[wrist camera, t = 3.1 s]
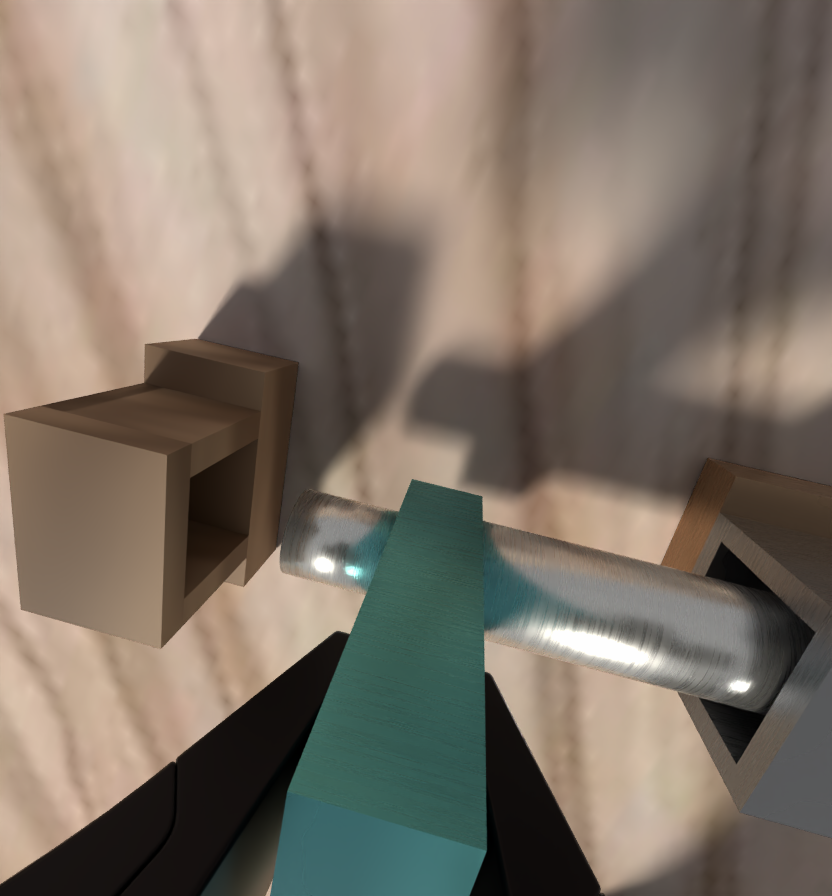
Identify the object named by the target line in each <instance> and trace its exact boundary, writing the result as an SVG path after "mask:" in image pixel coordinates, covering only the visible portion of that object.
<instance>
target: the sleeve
mask: <svg viewBox="0 0 832 896" xmlns="http://www.w3.org/2000/svg"><path fill="white" fill-rule="evenodd" d="M661 565H662V566H666V567H670V568H674V569H678V570H682V571H686V572H690V573H694V574H698V575H702V576H706V577H710V578H714V579H719V580H723V581H727V582H731V583H735V584H739V585H743V586H747V587H751V588H755V589H759V590H763V591H767V592H771V593H775V594H776V595H777V596H778V597H779V598H780V599H781V600H782V601H783V602H785V603H786V604H787V605H788V606H789V607H790V608H791V609H792V610H793V611H794V612H795V613H796V614H797V615H798V616H799V617H800V618H801V619H802V620H803V621H804V622H805V623H806V624H807V625H808V626H809V627H810V628H811V629H813V630H814V631H815V632H816V633H815V635H814V637H813V638H812V640H811V642H810V643H809V645H808V647H807V648H806V650H805V652H804V653H803V655H802V657H801V658H800V660H799V662H798V663H797V665H796V667H795V668H794V670H793V672H792V673H791V675H790V677H789V678H788V680H787V682H786V683H785V685H784V687H783V688H782V690H781V691H780V693H779V695H778V696H777V698H776V700H775V701H774V703H773V705H772V706H771V708H770V710H769V711H768V713H767V715H763V714H759V713H756V712H752V711H748V710H744V709H741V708H737V707H733V706H729V705H726V704H722V703H718V702H714V701H711V700H707V699H703V698H700V697H696V696H692V695H688V694H685V693H681V692H678V694H679V696H680V698H681V699H682V701H683V703H684V705H685V707H686V709H687V711H688V713H689V715H690V717H691V719H692V721H693V723H694V725H695V727H696V729H697V731H698V732H699V734H700V736H701V738H702V740H703V742H704V744H705V746H706V748H707V750H708V752H709V754H710V756H711V758H712V760H713V762H714V763H715V765H716V767H717V769H718V771H719V773H720V775H721V777H722V779H723V781H724V783H725V785H726V787H727V789H728V791H729V793H730V794H731V796H732V798H733V800H734V802H735V804H736V806H737V808H738V810H739V812H740V813H744V814H748V815H751V816H755V817H758V818H762V819H765V820H769V821H772V822H776V823H780V824H783V825H787V826H790V827H794V828H797V829H801V830H804V831H808V832H811V833H815V834H819V835H822V836H826V837H829V838H832V487H831V486H827V485H823V484H819V483H814V482H810V481H806V480H801V479H797V478H793V477H788V476H784V475H780V474H776V473H771V472H767V471H763V470H758V469H754V468H750V467H745V466H741V465H737V464H733V463H728V462H724V461H720V460H715V459H711V458H708V459H707V461H706V463H705V466H704V468H703V470H702V472H701V475H700V477H699V479H698V481H697V484H696V486H695V488H694V491H693V493H692V495H691V497H690V500H689V502H688V504H687V506H686V509H685V511H684V513H683V516H682V518H681V520H680V522H679V525H678V527H677V529H676V531H675V534H674V536H673V538H672V540H671V543H670V545H669V547H668V550H667V552H666V554H665V556H664V559H663V561H662V563H661Z"/></svg>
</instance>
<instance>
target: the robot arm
mask: <svg viewBox="0 0 832 896" xmlns="http://www.w3.org/2000/svg"><path fill="white" fill-rule="evenodd" d="M349 636H350V634H348V633H344V632H341V631H336V632H334V633H333V634H332V635H330V636H329V637H328V638H327V639H325V640H324V641H323V642H322V643H320V644H319V645H318V646H317V647H315V648H314V649H313V650H312V651H310V652H309V653H308V654H307V655H305V656H304V657H303V658H301V659H300V660H299V661H298V662H296V663H295V664H294V665H293V666H291V667H290V668H289V669H288V670H286V671H285V672H284V673H283V674H281V675H280V676H279V677H278V678H276V679H275V680H274V681H273V682H271V683H270V684H269V685H268V686H266V687H265V688H264V689H263V690H261V691H260V692H259V693H258V694H256V695H255V696H254V697H253V698H251V699H250V700H249V701H248V702H246V703H245V704H244V705H242V706H241V707H240V708H239V709H237V710H236V711H235V712H234V713H232V714H231V715H230V716H229V717H227V718H226V719H225V720H224V721H222V722H221V723H220V724H219V725H217V726H216V727H215V728H214V729H212V730H211V731H210V732H209V733H207V734H206V735H205V736H204V737H202V738H201V739H200V740H199V741H197V742H196V743H195V744H194V745H192V746H191V747H190V748H188V749H187V750H186V751H185V752H183V753H182V754H181V755H180V756H178V757H177V759H176V763H175V762H170V763H169V764H168V765H167V766H165V767H164V768H163V769H162V770H160V771H159V772H158V773H157V774H156V775H154V776H153V777H152V778H151V779H149V780H148V781H147V782H145V783H144V784H143V785H142V786H140V787H139V788H138V789H136V790H135V791H134V792H132V793H131V794H130V795H128V796H127V797H126V798H124V799H123V800H122V801H120V802H119V803H118V804H116V805H115V806H114V807H113V808H111V809H110V810H109V811H107V812H106V813H104V814H103V815H101V816H100V817H99V818H97V819H96V820H94V821H93V822H91V823H90V824H89V825H87V826H86V827H84V828H83V829H81V830H80V831H78V832H77V833H76V834H74V835H73V836H71V837H70V838H68V839H67V840H65V841H64V842H63V843H61V844H60V845H58V846H57V847H55V848H54V849H52V850H51V851H49V852H48V853H46V854H45V855H43V856H42V857H40V858H39V859H37V860H36V861H34V862H33V863H31V864H30V865H28V866H27V867H25V868H24V869H22V870H21V871H19V872H18V873H16V874H15V875H13V876H12V877H10V878H9V879H7V880H6V881H4V882H3V883H1V884H0V896H265V895H266V893H267V891H268V889H269V886H270V884H271V882H272V879H273V875H274V869H275V863H276V857H277V851H278V845H279V839H280V833H281V827H282V821H283V815H284V808H285V802H286V796H287V791H288V788H289V786H290V783H291V781H292V778H293V776H294V773H295V771H296V768H297V766H298V763H299V761H300V758H301V756H302V753H303V751H304V748H305V746H306V743H307V741H308V738H309V736H310V733H311V731H312V728H313V726H314V723H315V721H316V718H317V716H318V713H319V711H320V708H321V706H322V703H323V701H324V698H325V696H326V693H327V691H328V688H329V686H330V683H331V681H332V678H333V676H334V673H335V671H336V668H337V666H338V663H339V661H340V658H341V656H342V653H343V651H344V648H345V646H346V643H347V641H348V638H349ZM485 748H486V827H487V852H486V854H485V857H484V859H483V862H482V865H481V867H480V870H479V872H478V875H477V877H476V880H475V883H474V885H473V888H472V890H471V893H470V895H469V896H605V895H604V894H603V893H600V890H601V888H600V885H599V883H598V881H597V879H596V877H595V875H594V873H593V871H592V869H591V867H590V865H589V864H588V862H587V860H586V858H585V856H584V854H583V852H582V850H581V848H580V846H579V844H578V842H577V840H576V838H575V836H574V834H573V832H572V830H571V828H570V826H569V825H568V823H567V821H566V819H565V817H564V815H563V813H562V811H561V809H560V807H559V805H558V803H557V801H556V799H555V797H554V795H553V793H552V791H551V789H550V788H549V786H548V784H547V782H546V780H545V778H544V776H543V774H542V772H541V770H540V768H539V766H538V764H537V762H536V760H535V758H534V756H533V754H532V752H531V751H530V749H529V747H528V745H527V743H526V741H525V739H524V737H523V735H522V733H521V731H520V729H519V727H518V725H517V723H516V721H515V719H514V717H513V715H512V714H511V712H510V710H509V708H508V706H507V704H506V702H505V700H504V698H503V696H502V694H501V692H500V690H499V688H498V686H497V684H496V682H495V680H494V678H493V677H492V675H491V674H490V673H488V672H485ZM599 893H600V894H599Z"/></svg>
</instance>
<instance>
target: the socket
mask: <svg viewBox="0 0 832 896" xmlns="http://www.w3.org/2000/svg"><path fill="white" fill-rule="evenodd" d="M298 364H299V363H298V362H294V361H290V360H285V359H281V358H277V357H273V356H268V355H264V354H260V353H255V352H251V351H247V350H242V349H238V348H234V347H230V346H225V345H221V344H217V343H212V342H208V341H204V340H199V339H190V340H181V341H171V342H162V343H152V344H145V371H144V383H142V384H138V385H133V386H128V387H124V388H119V389H115V390H110V391H106V392H101V393H97V394H92V395H88V396H83V397H79V398H74V399H70V400H65V401H60V402H56V403H51V404H47V405H42V406H38V407H33V408H29V409H24V410H20V411H15V412H11V413H6V414H4V424H5V435H6V446H7V458H8V469H9V480H10V492H11V503H12V514H13V525H14V537H15V548H16V559H17V571H18V582H19V593H20V604H21V610H24V611H28V612H31V613H35V614H38V615H42V616H45V617H49V618H53V619H56V620H60V621H63V622H67V623H70V624H74V625H77V626H81V627H84V628H88V629H92V630H95V631H99V632H102V633H106V634H109V635H113V636H116V637H120V638H123V639H127V640H131V641H134V642H138V643H141V644H145V645H148V646H152V647H155V648H159V649H161V648H162V647H163V646H164V645H165V644H166V643H167V642H168V641H169V640H170V639H171V638H172V637H173V636H174V635H175V633H176V632H177V631H178V630H179V629H180V628H181V627H182V626H183V625H184V624H185V623H186V622H187V621H188V620H189V619H190V617H191V616H192V615H193V614H194V613H195V612H196V611H197V610H198V609H199V608H200V607H201V606H202V605H203V604H204V603H205V601H206V600H207V599H208V598H209V597H210V596H211V595H212V594H213V593H214V592H215V591H216V590H217V589H218V588H219V587H220V585H221V584H222V583H223V582H227V583H231V584H234V585H238V586H242V587H244V586H245V585H246V584H247V582H248V581H249V580H250V579H251V578H252V577H253V575H254V574H255V573H256V572H257V571H258V570H259V568H260V567H261V566H262V565H263V564H264V562H265V561H266V560H267V559H268V558H269V557H270V555H271V554H272V553H273V552H274V551H275V550H276V543H277V535H278V527H279V519H280V511H281V502H282V494H283V486H284V478H285V470H286V462H287V454H288V445H289V437H290V429H291V421H292V413H293V405H294V396H295V388H296V380H297V372H298Z"/></svg>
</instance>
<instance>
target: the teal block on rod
mask: <svg viewBox="0 0 832 896" xmlns="http://www.w3.org/2000/svg"><path fill="white" fill-rule="evenodd" d="M280 569H281V571H282V573H285V574H289V575H292V576H296V577H300V578H304V579H307V580H311V581H315V582H319V583H322V584H326V585H330V586H334V587H338V588H341V589H345V590H349V591H353V592H356V593H360V594H364V595H366V596H365V598H364V601H363V603H362V606H361V608H360V611H359V613H358V616H357V618H356V621H355V623H354V626H353V628H352V631H351V633H350V636H349V638H348V641H347V643H346V646H345V648H344V651H343V653H342V656H341V658H340V661H339V663H338V666H337V668H336V671H335V673H334V676H333V678H332V681H331V683H330V686H329V688H328V691H327V693H326V696H325V698H324V701H323V703H322V706H321V708H320V711H319V713H318V716H317V718H316V721H315V723H314V726H313V728H312V731H311V733H310V736H309V738H308V741H307V743H306V746H305V748H304V751H303V753H302V756H301V758H300V761H299V763H298V766H297V768H296V771H295V773H294V776H293V778H292V781H291V783H290V786H289V788H288V791H287V796H286V802H285V808H284V815H283V821H282V827H281V833H280V839H279V845H278V851H277V857H276V863H275V869H274V875H273V882H272V888H271V894H270V896H469V895H470V893H471V890H472V888H473V885H474V883H475V880H476V877H477V875H478V872H479V870H480V867H481V865H482V862H483V859H484V857H485V854H486V852H487V827H486V748H485V668H484V640H486V641H490V642H494V643H497V644H501V645H505V646H509V647H512V648H516V649H520V650H524V651H527V652H531V653H535V654H539V655H542V656H546V657H550V658H554V659H557V660H561V661H565V662H569V663H572V664H576V665H580V666H583V667H587V668H591V669H595V670H598V671H602V672H606V673H610V674H613V675H617V676H621V677H625V678H628V679H632V680H636V681H640V682H643V683H647V684H651V685H655V686H658V687H662V688H666V689H670V690H673V691H677V692H681V693H685V694H688V695H692V696H696V697H700V698H703V699H707V700H711V701H714V702H718V703H722V704H726V705H729V706H733V707H737V708H741V709H744V710H748V711H752V712H756V713H759V714H763V715H767V713H768V711H769V710H770V708H771V706H772V705H773V703H774V701H775V700H776V698H777V696H778V695H779V693H780V691H781V690H782V688H783V687H784V685H785V683H786V682H787V680H788V678H789V677H790V675H791V673H792V672H793V670H794V668H795V667H796V665H797V663H798V662H799V660H800V658H801V657H802V655H803V653H804V652H805V650H806V648H807V647H808V645H809V643H810V642H811V640H812V638H813V637H814V635H815V633H816V632H815V631H814V630H813V629H811V628H810V627H809V626H808V625H807V624H806V623H805V622H804V621H803V620H802V619H801V618H800V617H799V616H798V615H797V614H796V613H795V612H794V611H793V610H792V609H791V608H790V607H789V606H788V605H787V604H786V603H785V602H783V601H782V600H781V599H780V598H779V597H778V596H777V595H776V594H775V593H771V592H767V591H763V590H759V589H755V588H751V587H747V586H743V585H739V584H735V583H731V582H727V581H723V580H719V579H714V578H710V577H706V576H702V575H698V574H694V573H690V572H686V571H682V570H678V569H674V568H670V567H666V566H662V565H658V564H654V563H650V562H646V561H642V560H638V559H634V558H630V557H626V556H622V555H618V554H614V553H610V552H606V551H602V550H598V549H594V548H590V547H586V546H582V545H578V544H574V543H570V542H566V541H562V540H558V539H554V538H550V537H546V536H542V535H538V534H534V533H530V532H526V531H522V530H518V529H514V528H510V527H506V526H502V525H498V524H494V523H490V522H486V521H483V508H482V496H479V495H474V494H470V493H466V492H462V491H458V490H454V489H450V488H446V487H442V486H438V485H434V484H430V483H426V482H422V481H418V480H414V479H412V480H411V483H410V485H409V488H408V490H407V493H406V495H405V498H404V500H403V503H402V505H401V508H400V510H399V512H398V511H394V510H390V509H386V508H382V507H378V506H374V505H370V504H366V503H362V502H358V501H354V500H350V499H346V498H342V497H338V496H334V495H330V494H326V493H322V492H318V491H314V490H310V489H308V490H306V491H305V492H303V494H302V495H301V496H300V497H299V499H298V501H297V502H296V504H295V506H294V508H293V510H292V513H291V515H290V517H289V520H288V523H287V526H286V529H285V532H284V536H283V540H282V545H281V551H280Z"/></svg>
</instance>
